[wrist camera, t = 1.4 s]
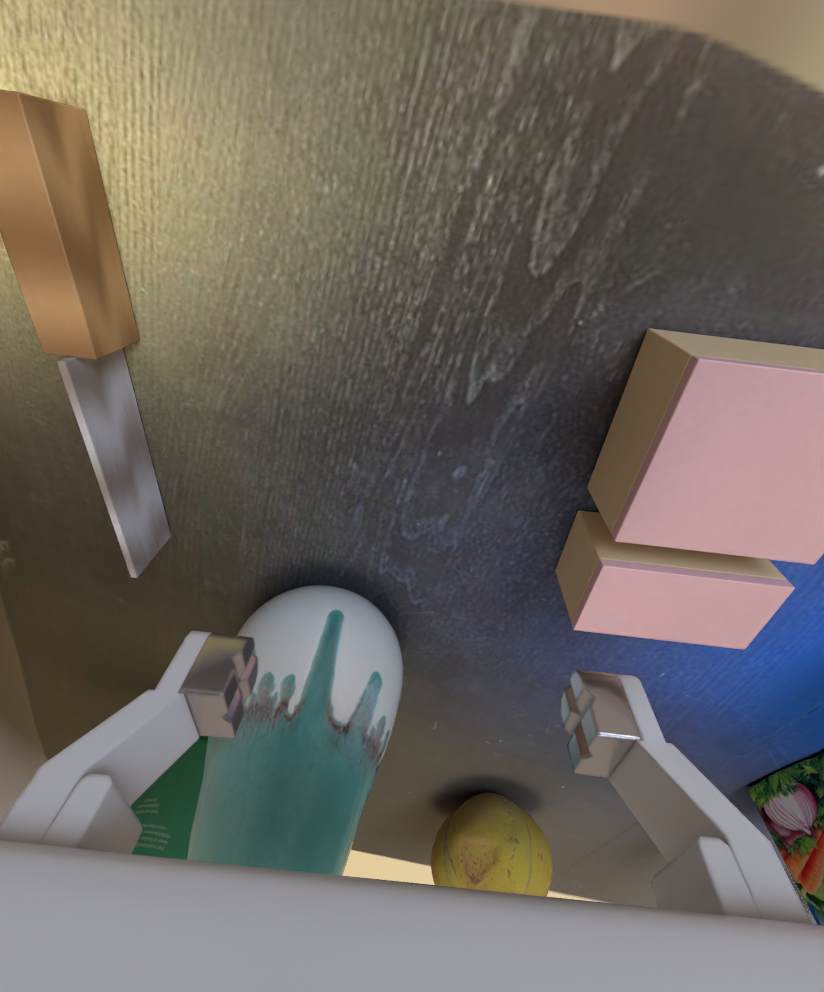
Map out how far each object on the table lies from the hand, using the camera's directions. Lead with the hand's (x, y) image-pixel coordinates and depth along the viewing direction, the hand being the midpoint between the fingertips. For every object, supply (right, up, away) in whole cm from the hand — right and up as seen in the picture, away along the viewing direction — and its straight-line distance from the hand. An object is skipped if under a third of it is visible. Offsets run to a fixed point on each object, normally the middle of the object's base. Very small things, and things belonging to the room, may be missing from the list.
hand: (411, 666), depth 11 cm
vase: (-6, -5, +22) cm, 24 cm away
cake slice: (+15, +1, +17) cm, 22 cm away
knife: (-15, +11, +12) cm, 22 cm away
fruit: (+8, -28, +37) cm, 47 cm away
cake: (+16, +8, +12) cm, 21 cm away
